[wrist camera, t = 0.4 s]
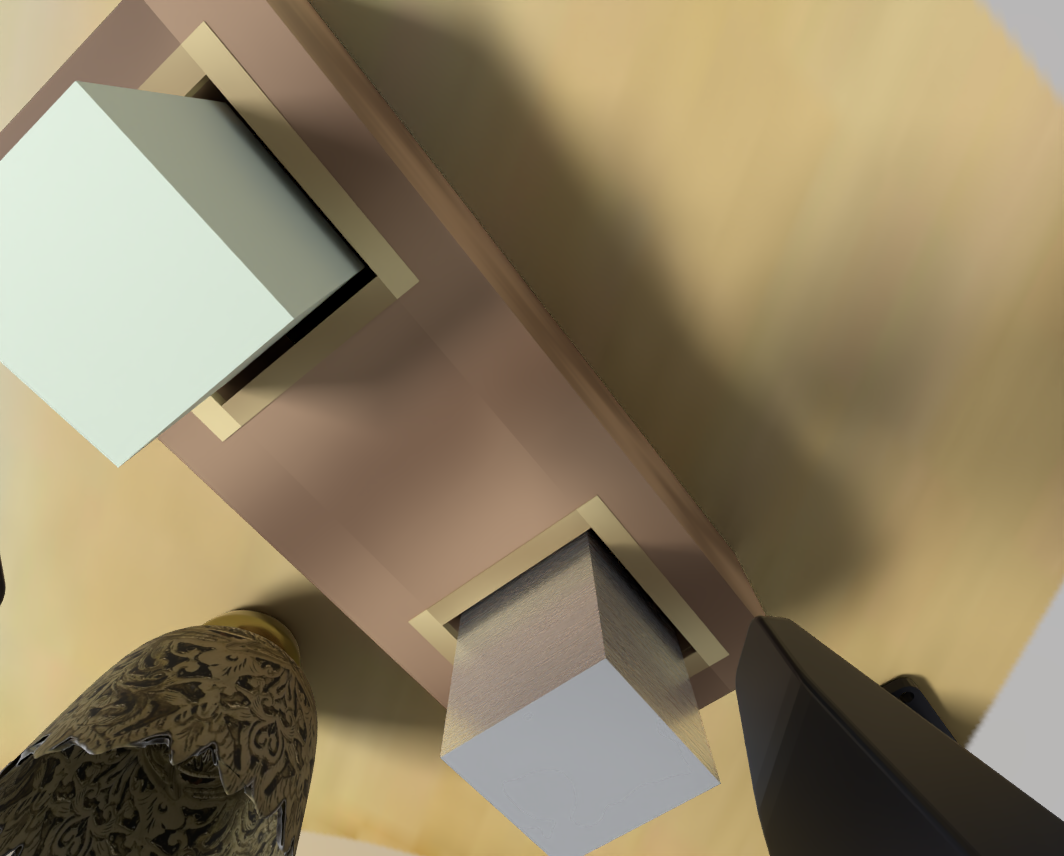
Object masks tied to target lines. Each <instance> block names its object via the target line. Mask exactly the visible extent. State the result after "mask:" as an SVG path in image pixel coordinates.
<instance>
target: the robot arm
mask: <svg viewBox="0 0 1064 856" xmlns="http://www.w3.org/2000/svg"><path fill="white" fill-rule="evenodd" d="M5 588H6V587H5V579H4V573H3V568H2V562H1V557H0V605H1V603H2V601H3V598H4V595H5ZM735 685H736V694H737V700H738V705H739V711H740V717H741V722H742V728H743V734H744V739H745V745H746V751H747V756H748V762H749V767H750V773H751V779H752V784H753V790H754V795H755V800H756V805H757V810H758V814H759V818H760V822H761V826H762V830H763V833H764V837H765V841H766V844H767V847H768V851H769V854H770V856H1064V821H1062V820H1061V819H1060V818H1058V817H1057V816H1056V815H1054V814H1053V813H1051V812H1050V811H1049V810H1047V809H1046V808H1045V807H1043V806H1042V805H1041V804H1039V803H1038V802H1036V801H1035V800H1034V799H1033V798H1031V797H1030V796H1028V795H1027V794H1026V793H1024V792H1023V791H1022V790H1020V789H1019V788H1017V787H1016V786H1015V785H1014V784H1012V783H1011V782H1009V781H1008V780H1007V779H1005V778H1004V777H1003V776H1001V775H1000V774H999V773H997V772H996V771H995V770H993V769H992V768H991V767H989V766H988V765H987V764H985V763H984V762H982V761H981V760H980V759H978V758H977V757H976V756H974V755H973V754H972V753H970V752H969V751H968V750H966V749H965V748H963V747H962V746H961V745H959V744H958V743H957V742H956V740H955V739H954V737H953V736H952V735H951V733H950V732H949V730H948V729H947V728H946V726H945V725H944V723H943V722H942V721H941V719H940V718H939V716H938V715H937V714H936V712H935V711H934V709H933V708H932V707H931V705H930V704H929V702H928V701H927V700H926V698H925V697H924V695H923V694H922V693H921V691H920V690H919V688H918V687H917V686H916V684H915V683H914V682H913V681H912V680H911V679H908V678H900V679H897V680H894V681H892V682H890V683H889V684H887V685H885V686H883V687H881V686H880V685H878V684H877V683H876V682H874V681H873V680H871V679H870V678H869V677H867V676H866V675H865V674H863V673H862V672H861V671H859V670H858V669H857V668H855V667H854V666H853V665H851V664H850V663H848V662H847V661H846V660H844V659H843V658H842V657H840V656H839V655H838V654H836V653H835V652H834V651H832V650H831V649H830V648H828V647H827V646H825V645H824V644H823V643H821V642H820V641H819V640H817V639H816V638H815V637H813V636H812V635H811V634H809V633H808V632H807V631H805V630H804V629H802V628H801V627H800V626H798V625H797V624H796V623H794V622H793V621H792V620H790V619H787V618H781V617H772V616H763V615H758V616H756V617H754V618H753V619H752V621H751V623H750V625H749V627H748V631H747V634H746V638H745V642H744V645H743V649H742V652H741V656H740V659H739V663H738V666H737V670H736V678H735ZM905 692H906V693H905ZM903 693H904V694H903Z"/></svg>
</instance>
